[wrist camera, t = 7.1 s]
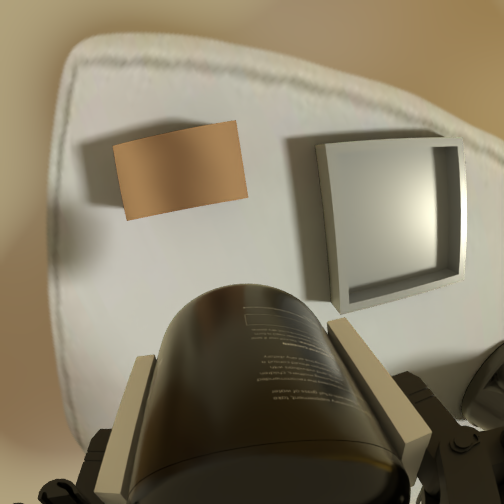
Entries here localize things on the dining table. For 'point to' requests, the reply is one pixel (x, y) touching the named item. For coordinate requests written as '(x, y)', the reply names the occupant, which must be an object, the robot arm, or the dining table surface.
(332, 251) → the tray
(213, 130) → the block
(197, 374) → the supplement bottle
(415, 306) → the dining table surface
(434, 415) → the robot arm
